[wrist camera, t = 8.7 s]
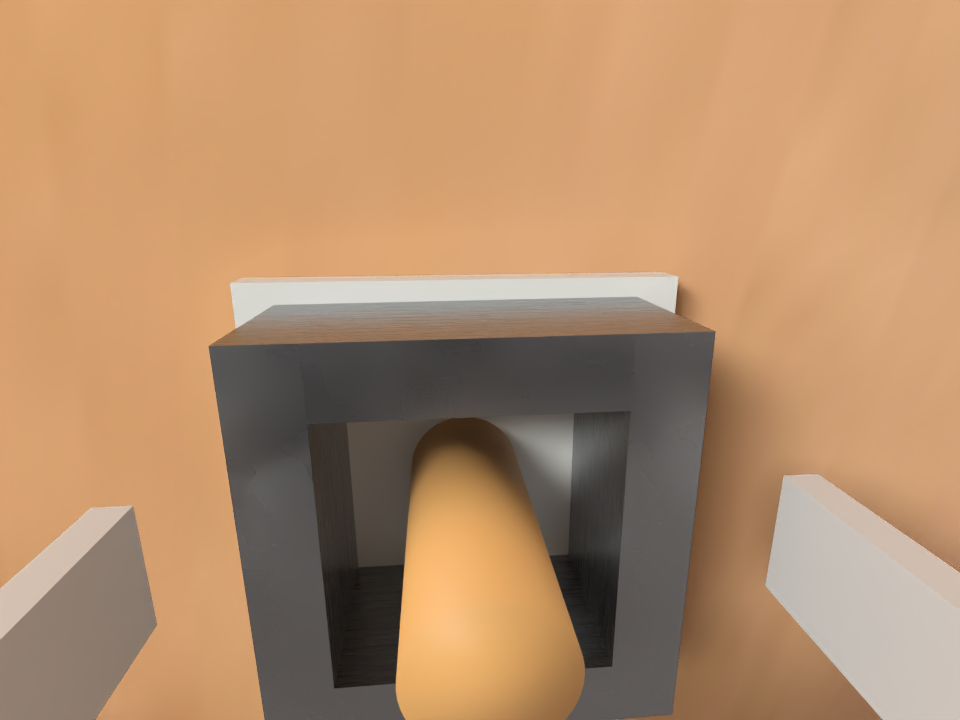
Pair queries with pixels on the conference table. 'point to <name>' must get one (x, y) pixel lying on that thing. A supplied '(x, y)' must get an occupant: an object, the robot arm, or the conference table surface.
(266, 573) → the grey square frame
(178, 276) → the conference table surface
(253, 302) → the keeper
